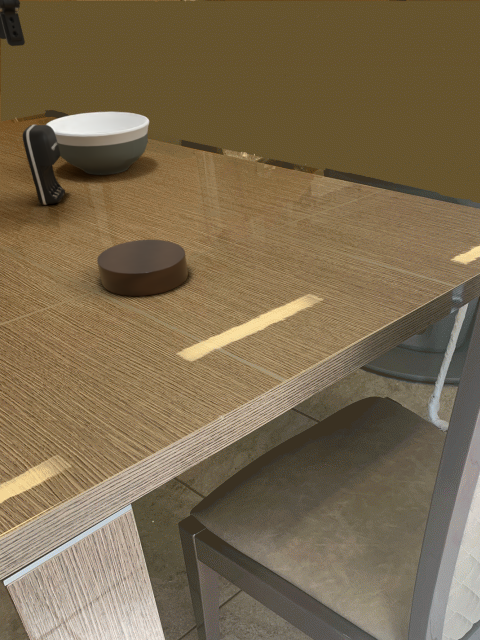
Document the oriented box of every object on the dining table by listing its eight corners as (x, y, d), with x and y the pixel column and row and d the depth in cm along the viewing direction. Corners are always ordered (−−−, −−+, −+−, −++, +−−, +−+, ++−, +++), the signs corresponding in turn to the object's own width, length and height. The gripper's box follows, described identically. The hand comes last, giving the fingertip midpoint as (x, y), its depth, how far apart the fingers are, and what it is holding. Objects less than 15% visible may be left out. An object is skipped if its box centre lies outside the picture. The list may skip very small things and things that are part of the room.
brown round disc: (93, 297, 79) (88, 274, 77) (111, 261, 88) (106, 240, 86) (183, 294, 80) (180, 272, 78) (191, 259, 88) (189, 238, 87)
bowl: (144, 182, 116) (136, 134, 111) (41, 183, 116) (29, 134, 111) (164, 155, 131) (157, 111, 126) (72, 155, 131) (62, 111, 126)
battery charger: (63, 205, 106) (45, 131, 99) (39, 206, 106) (19, 132, 99) (71, 192, 112) (55, 121, 105) (49, 193, 112) (31, 122, 105)
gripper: (-64, -104, 85) (-23, 38, 95) (-54, -110, 75) (-10, 49, 85) (-3, -103, 88) (30, 35, 98) (14, -109, 78) (49, 45, 88)
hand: (11, 41), depth 91 cm, fingers open, 8 cm apart
